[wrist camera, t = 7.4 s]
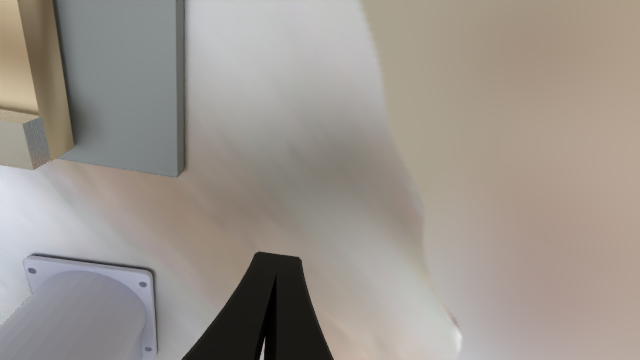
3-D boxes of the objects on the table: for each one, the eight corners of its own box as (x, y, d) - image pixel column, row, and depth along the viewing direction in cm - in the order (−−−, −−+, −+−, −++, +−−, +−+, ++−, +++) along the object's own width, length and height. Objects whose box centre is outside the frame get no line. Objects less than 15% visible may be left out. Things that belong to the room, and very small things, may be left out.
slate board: (183, 169, 19) (177, 177, 18) (-25, 136, 17) (-44, 142, 16) (183, -158, 12) (173, -171, 11) (-147, -247, 11) (-188, -269, 10)
